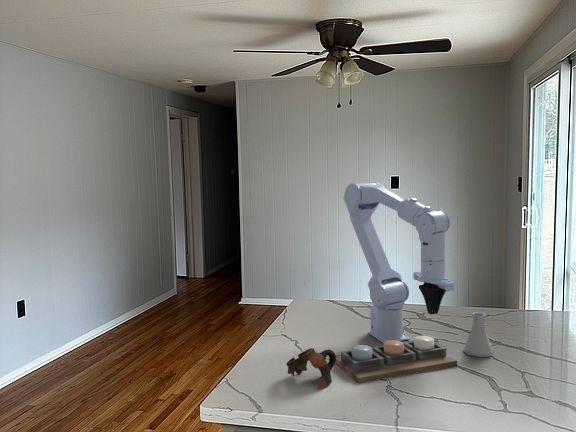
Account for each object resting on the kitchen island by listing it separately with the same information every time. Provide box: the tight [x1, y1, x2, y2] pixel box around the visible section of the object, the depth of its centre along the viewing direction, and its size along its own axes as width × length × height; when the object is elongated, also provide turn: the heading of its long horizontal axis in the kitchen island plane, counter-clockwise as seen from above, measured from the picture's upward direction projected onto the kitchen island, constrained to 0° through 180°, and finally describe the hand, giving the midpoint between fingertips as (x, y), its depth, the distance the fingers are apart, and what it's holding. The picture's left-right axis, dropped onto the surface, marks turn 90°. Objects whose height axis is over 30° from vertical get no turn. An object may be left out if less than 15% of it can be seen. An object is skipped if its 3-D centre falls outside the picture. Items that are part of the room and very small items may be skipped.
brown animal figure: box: [285, 347, 337, 390], centre depth 118 cm, size 12×10×8 cm
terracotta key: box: [383, 340, 404, 356], centre depth 126 cm, size 5×5×3 cm
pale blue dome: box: [351, 344, 372, 361], centre depth 123 cm, size 5×5×3 cm
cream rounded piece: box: [413, 335, 435, 351], centre depth 128 cm, size 5×5×3 cm
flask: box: [462, 312, 494, 358], centre depth 131 cm, size 7×7×10 cm
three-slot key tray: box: [335, 340, 458, 384], centre depth 126 cm, size 14×26×3 cm, turn 109°
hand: (433, 313), depth 130 cm, fingers closed
